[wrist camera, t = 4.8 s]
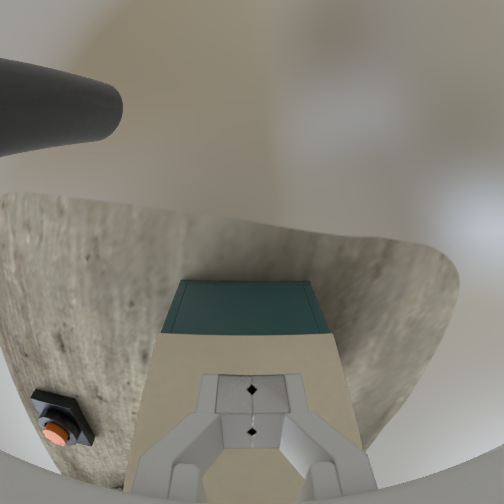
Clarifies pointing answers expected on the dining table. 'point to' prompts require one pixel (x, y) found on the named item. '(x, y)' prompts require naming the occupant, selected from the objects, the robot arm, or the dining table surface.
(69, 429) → the push button housing
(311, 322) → the teal hollow open box
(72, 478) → the robot arm
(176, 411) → the beige flat rectangular panel
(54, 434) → the flush button
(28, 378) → the dining table surface
